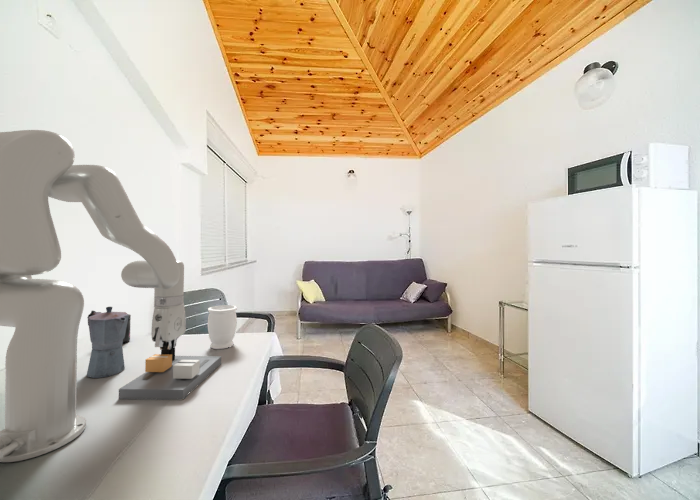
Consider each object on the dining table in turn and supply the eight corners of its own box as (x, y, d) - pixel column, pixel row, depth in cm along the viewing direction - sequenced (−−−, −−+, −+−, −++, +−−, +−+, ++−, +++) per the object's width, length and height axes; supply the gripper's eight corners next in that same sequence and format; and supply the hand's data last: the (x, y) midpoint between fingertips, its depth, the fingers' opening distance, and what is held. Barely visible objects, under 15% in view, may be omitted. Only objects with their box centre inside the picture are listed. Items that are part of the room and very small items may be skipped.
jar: (242, 344, 111) (242, 307, 111) (217, 352, 103) (218, 311, 103) (225, 339, 117) (226, 303, 117) (201, 346, 108) (202, 307, 108)
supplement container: (131, 343, 111) (131, 316, 111) (108, 346, 106) (108, 319, 106) (129, 338, 116) (130, 313, 116) (108, 342, 111) (108, 315, 111)
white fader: (191, 378, 76) (192, 365, 76) (173, 378, 76) (173, 365, 76) (199, 372, 80) (199, 359, 80) (181, 371, 80) (181, 359, 80)
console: (182, 399, 71) (183, 389, 71) (118, 399, 71) (118, 388, 71) (221, 363, 93) (221, 356, 93) (172, 363, 93) (172, 355, 93)
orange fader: (163, 372, 80) (163, 359, 80) (145, 371, 80) (145, 359, 79) (171, 366, 84) (172, 354, 84) (154, 366, 84) (155, 353, 83)
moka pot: (108, 382, 79) (109, 311, 79) (66, 376, 82) (67, 307, 82) (140, 368, 89) (141, 304, 88) (101, 363, 92) (102, 301, 92)
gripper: (166, 306, 78) (164, 372, 78) (194, 297, 93) (193, 352, 93) (138, 305, 78) (137, 371, 78) (171, 296, 93) (170, 352, 93)
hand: (167, 361), depth 86 cm, fingers closed
